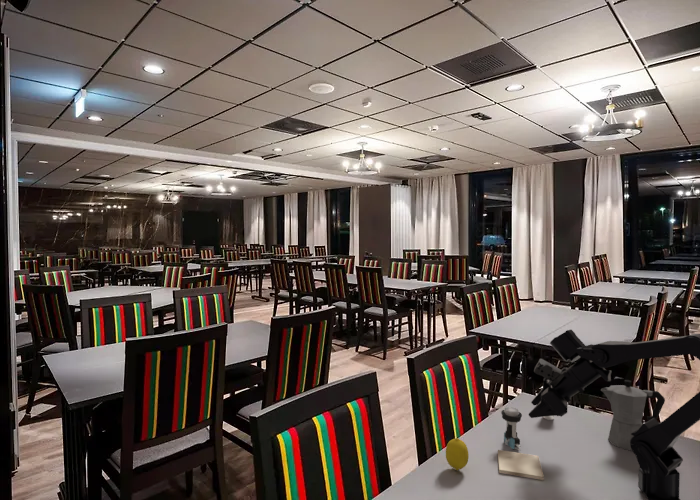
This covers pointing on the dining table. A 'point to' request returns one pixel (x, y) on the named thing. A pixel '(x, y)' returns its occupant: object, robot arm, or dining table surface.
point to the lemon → (457, 454)
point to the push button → (511, 427)
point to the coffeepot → (629, 411)
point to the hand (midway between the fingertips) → (531, 409)
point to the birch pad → (520, 464)
